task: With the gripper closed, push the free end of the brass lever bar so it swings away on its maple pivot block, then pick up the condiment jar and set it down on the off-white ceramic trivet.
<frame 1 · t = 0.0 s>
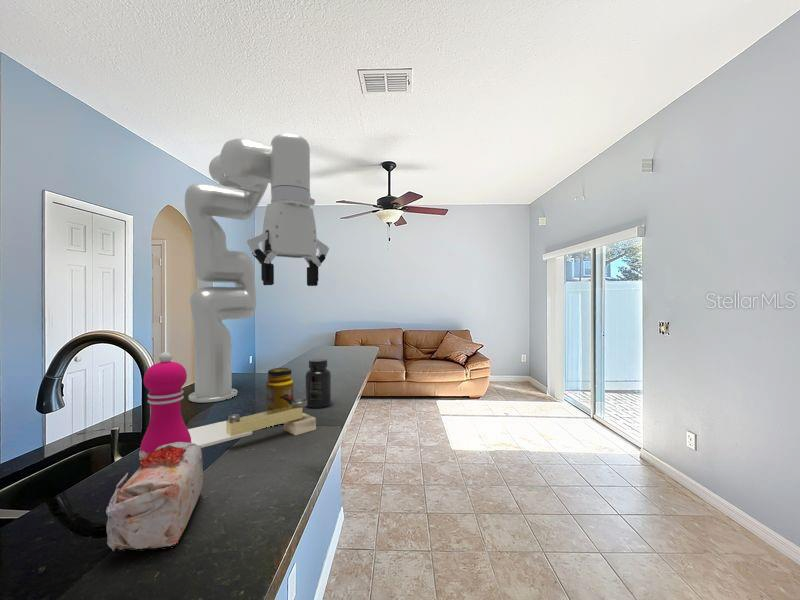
hand: (291, 285, 76), 31 cm above the counter, tool pointing down, fingers open, 9 cm apart
pepper mill: (166, 475, 62), on the counter
pivot block: (299, 429, 82), on the counter
lever: (270, 415, 77), point 4 cm above the counter, hinge at 0.0°
trivet: (215, 434, 80), on the counter
condiment: (275, 422, 88), on the counter
food item: (162, 526, 48), on the counter
supplement bottle: (318, 405, 101), on the counter
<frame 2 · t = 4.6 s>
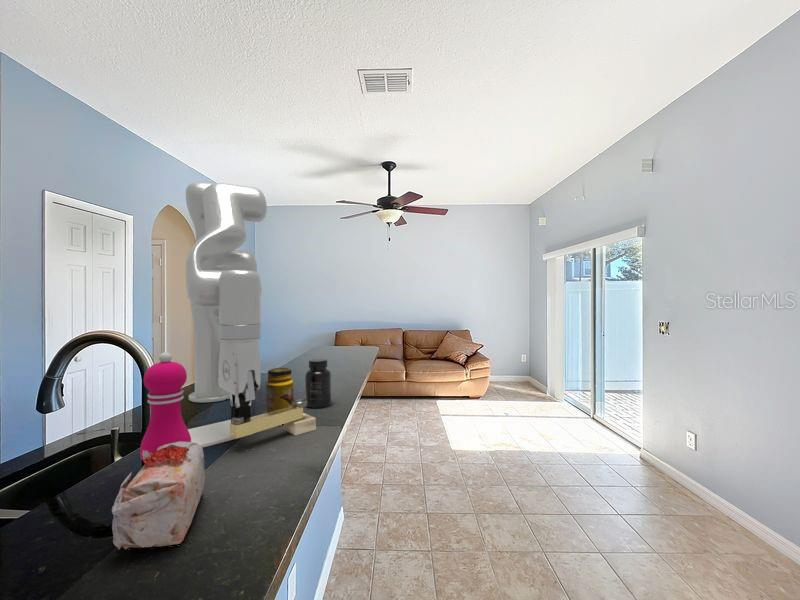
hand: (240, 425, 75), 3 cm above the counter, tool pointing down, fingers closed
lever: (272, 416, 77), point 4 cm above the counter, hinge at 6.9°, touching gripper
everything else where it was.
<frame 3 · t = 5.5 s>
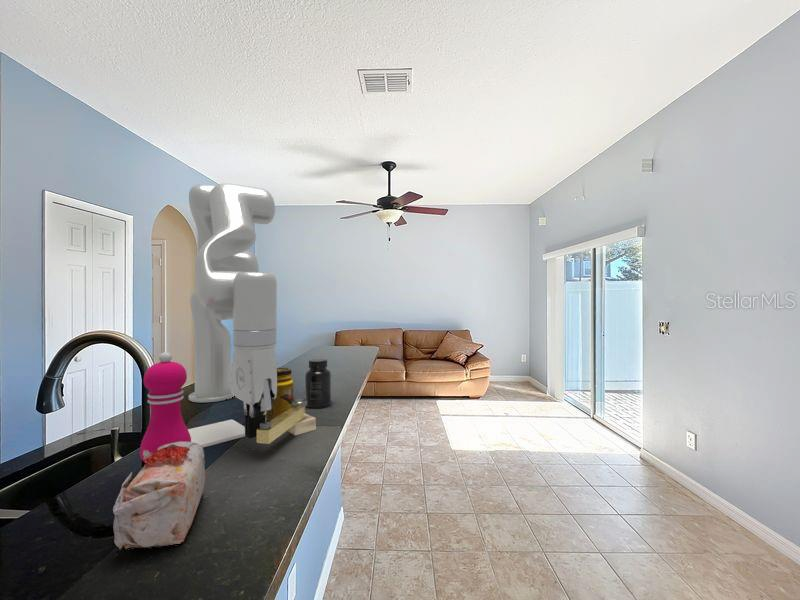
hand: (255, 435, 71), 3 cm above the counter, tool pointing down, fingers closed
lever: (284, 418, 76), point 4 cm above the counter, hinge at 35.1°, touching gripper
everything else where it was.
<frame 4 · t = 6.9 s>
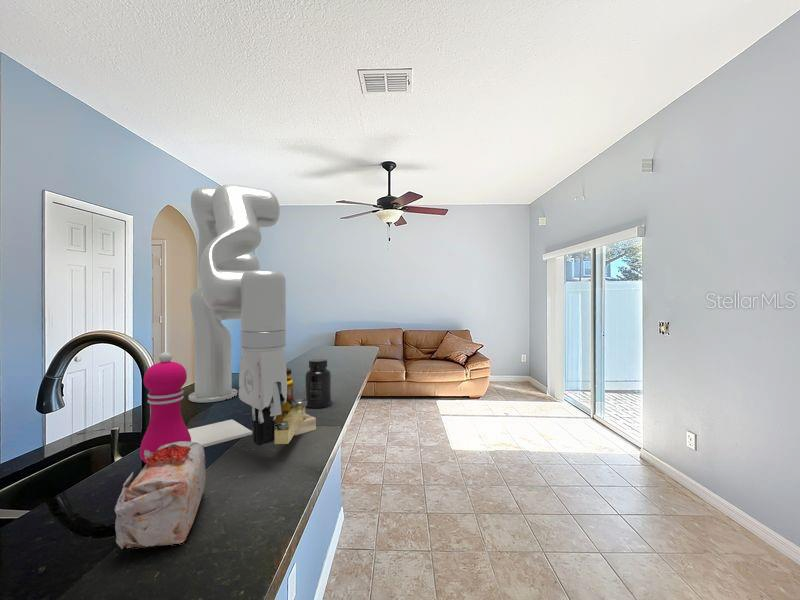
hand: (264, 442, 68), 3 cm above the counter, tool pointing down, fingers closed
lever: (292, 419, 76), point 4 cm above the counter, hinge at 48.0°, touching gripper
everything else where it was.
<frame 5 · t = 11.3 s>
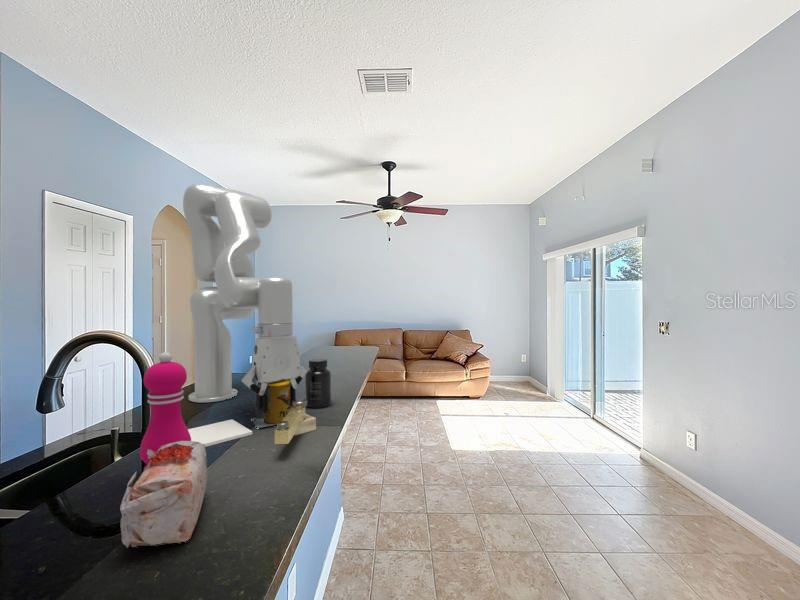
hand: (276, 407, 88), 3 cm above the counter, tool pointing down, fingers closed on condiment, 6 cm apart
lever: (292, 419, 76), point 4 cm above the counter, hinge at 48.1°
condiment: (273, 422, 87), on the counter, touching gripper
everything else where it was.
when the fingers open (5 cm above the counter, at t = 16.6 s): condiment drops 1 cm, resting on trivet.
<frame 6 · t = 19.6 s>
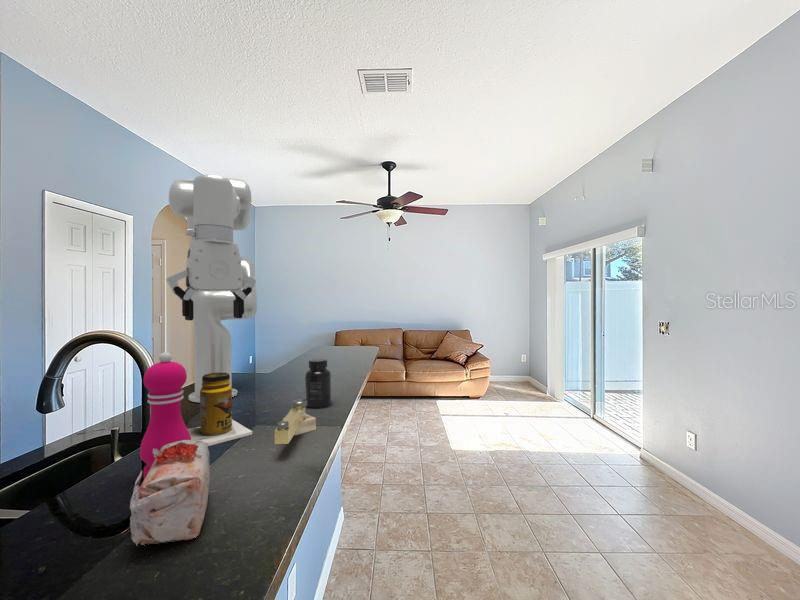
hand: (214, 318, 79), 24 cm above the counter, tool pointing down, fingers open, 9 cm apart
condiment: (211, 432, 79), resting on trivet
at the end: lever at +48° (first picture: +0°); condiment inside the target area on the trivet (0.7 cm from its centre), point 0.4 cm above the trivet's base; condiment tilted 0° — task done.
